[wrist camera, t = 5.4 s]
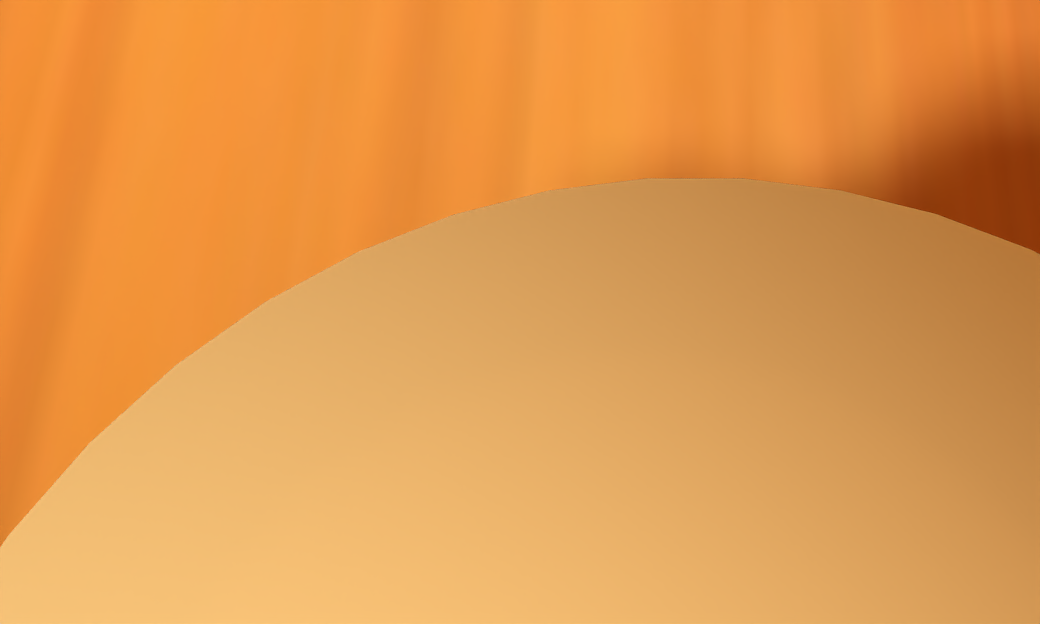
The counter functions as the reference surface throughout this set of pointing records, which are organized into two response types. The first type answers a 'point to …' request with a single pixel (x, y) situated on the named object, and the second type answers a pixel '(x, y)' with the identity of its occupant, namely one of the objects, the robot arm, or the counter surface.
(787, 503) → the canister
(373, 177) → the counter surface
